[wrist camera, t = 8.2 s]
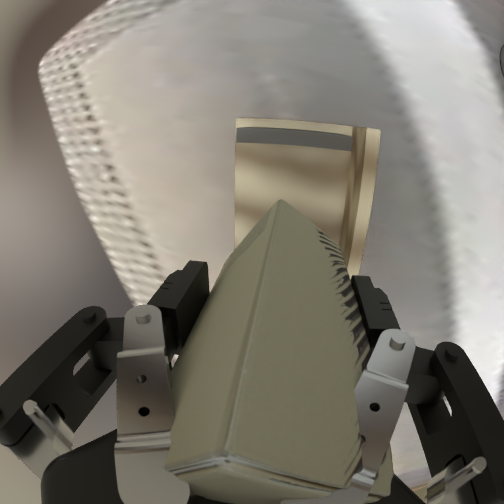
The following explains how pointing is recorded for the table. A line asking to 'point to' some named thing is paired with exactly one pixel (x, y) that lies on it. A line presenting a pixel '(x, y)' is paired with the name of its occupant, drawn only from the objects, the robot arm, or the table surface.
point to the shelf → (308, 177)
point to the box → (274, 373)
